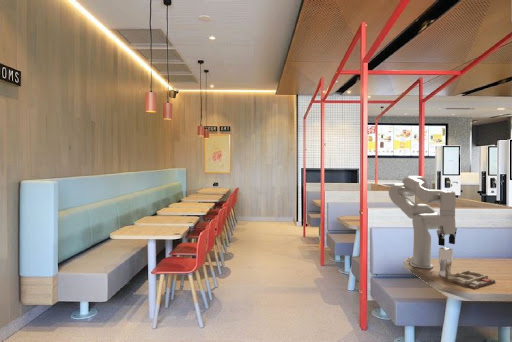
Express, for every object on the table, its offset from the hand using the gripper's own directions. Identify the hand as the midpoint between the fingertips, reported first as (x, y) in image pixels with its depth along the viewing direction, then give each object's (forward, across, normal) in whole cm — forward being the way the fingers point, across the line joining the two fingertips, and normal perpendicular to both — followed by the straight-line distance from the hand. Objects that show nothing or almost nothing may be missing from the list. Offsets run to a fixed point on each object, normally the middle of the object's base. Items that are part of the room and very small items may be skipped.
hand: (446, 244), depth 200 cm
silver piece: (+18, 0, -1) cm, 18 cm away
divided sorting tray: (+18, -3, +11) cm, 21 cm away
